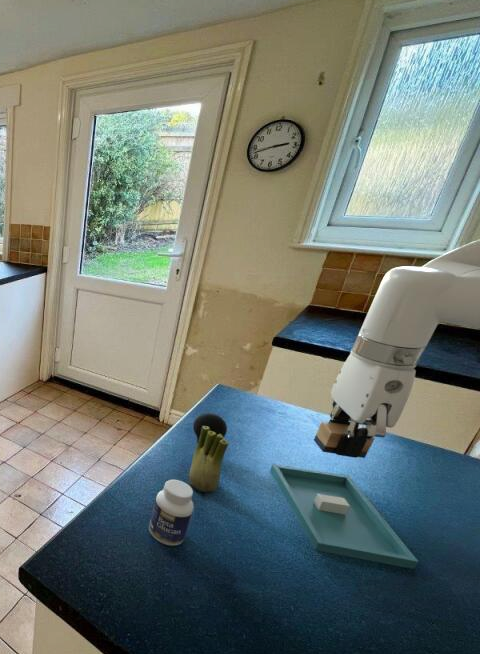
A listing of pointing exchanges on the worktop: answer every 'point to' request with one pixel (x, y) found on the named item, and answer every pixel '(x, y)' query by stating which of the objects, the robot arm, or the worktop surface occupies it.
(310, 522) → the tray
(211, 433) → the fennel bulb
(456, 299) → the robot arm
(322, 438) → the eraser
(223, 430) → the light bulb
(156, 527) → the pill bottle
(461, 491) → the worktop surface
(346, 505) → the chalk
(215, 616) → the worktop surface
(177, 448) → the worktop surface
